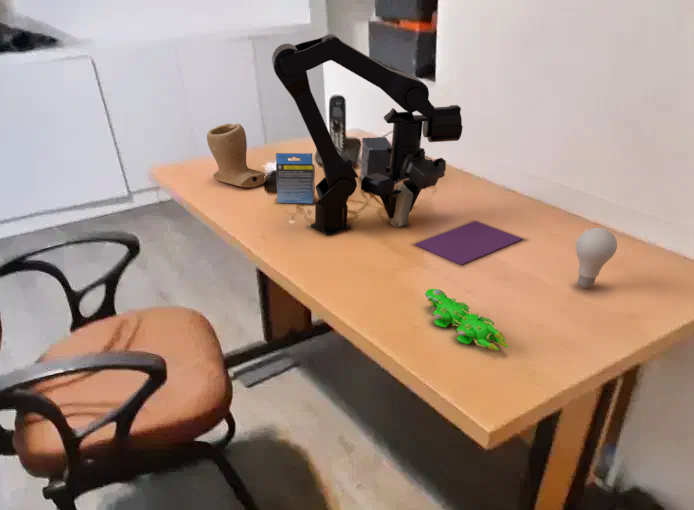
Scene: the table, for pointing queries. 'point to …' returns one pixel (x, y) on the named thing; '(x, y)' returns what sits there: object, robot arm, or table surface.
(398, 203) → the grey rounded block
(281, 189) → the tape cartridge
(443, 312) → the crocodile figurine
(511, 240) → the felt cloth
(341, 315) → the table surface
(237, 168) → the tan boot-shaped vase
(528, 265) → the table surface
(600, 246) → the lightbulb
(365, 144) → the small box
